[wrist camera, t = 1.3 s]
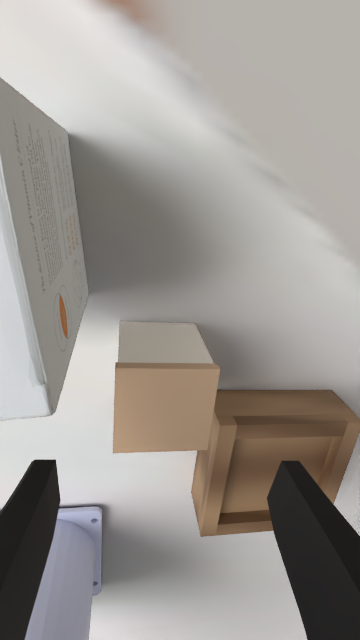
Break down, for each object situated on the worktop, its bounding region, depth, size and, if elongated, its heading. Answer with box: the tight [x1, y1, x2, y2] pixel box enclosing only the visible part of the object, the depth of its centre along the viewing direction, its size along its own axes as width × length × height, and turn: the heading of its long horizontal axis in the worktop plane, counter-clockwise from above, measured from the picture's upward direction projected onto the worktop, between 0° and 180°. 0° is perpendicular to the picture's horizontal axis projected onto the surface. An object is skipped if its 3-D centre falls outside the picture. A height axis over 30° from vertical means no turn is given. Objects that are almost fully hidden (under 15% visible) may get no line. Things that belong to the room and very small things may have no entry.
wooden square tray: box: [191, 390, 360, 537], centre depth 23 cm, size 9×9×4 cm
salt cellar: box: [113, 321, 220, 453], centre depth 18 cm, size 5×5×6 cm
